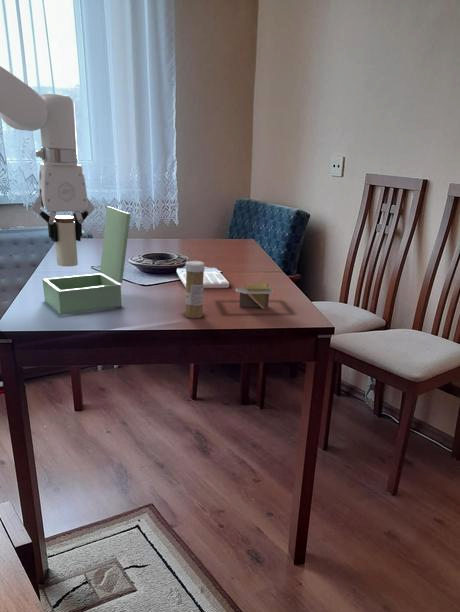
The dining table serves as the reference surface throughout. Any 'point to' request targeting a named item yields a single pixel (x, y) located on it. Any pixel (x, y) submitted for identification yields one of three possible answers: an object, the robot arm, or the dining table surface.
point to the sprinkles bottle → (194, 289)
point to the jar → (66, 241)
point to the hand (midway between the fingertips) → (65, 239)
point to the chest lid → (115, 243)
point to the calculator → (207, 278)
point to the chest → (82, 293)
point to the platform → (254, 295)
